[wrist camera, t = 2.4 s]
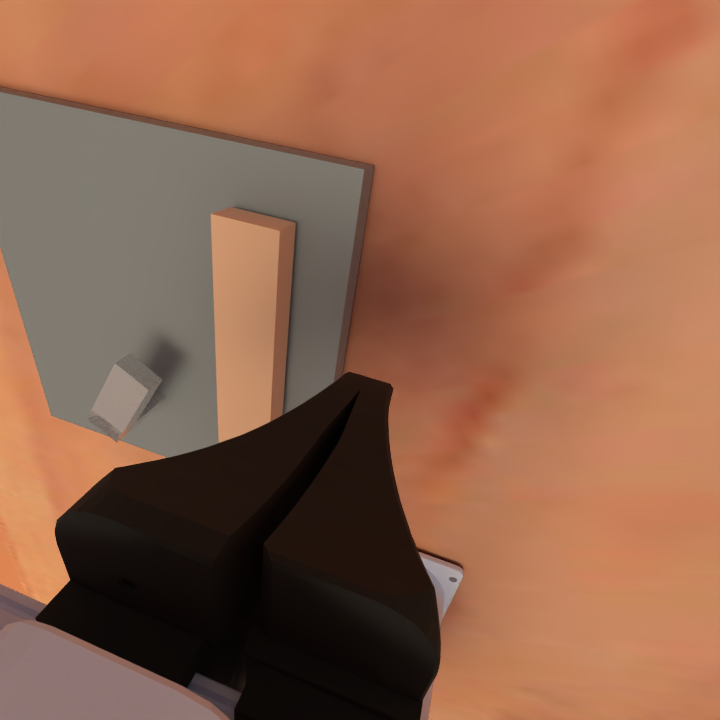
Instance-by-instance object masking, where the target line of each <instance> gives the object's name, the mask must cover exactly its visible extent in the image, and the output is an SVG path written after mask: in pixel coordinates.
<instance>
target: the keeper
mask: <svg viewBox="0 0 720 720" xmlns="http://www.w3.org/2000/svg"><path fill="white" fill-rule="evenodd" d="M162 380H163V379H161V378H160V377H159V376H158V375H156V374H155V373H154V372H153V371H151V370H150V369H149V368H148V367H147V366H145V365H144V364H143V363H142V362H140V361H139V360H138V359H137V358H135V357H134V356H133V355H132V354H131V353H130V354H128V355H127V356H125V357H124V358H122V359H120V360H119V361H117V362H116V363H115V364H114V366H113V368H112V370H111V372H110V374H109V376H108V378H107V380H106V382H105V384H104V386H103V388H102V390H101V392H100V394H99V396H98V398H97V400H96V402H95V404H94V405H93V407H92V409H91V411H90V413H89V415H88V417H87V419H88V420H89V421H90V422H92V423H93V424H94V425H95V426H97V427H98V428H99V429H100V430H102V431H103V432H104V433H106V434H107V435H108V436H109V437H111V438H112V439H113V440H115V441H116V442H118V441H119V440H120V439H121V438H122V437H124V436H125V435H126V434H127V433H128V432H130V431H131V430H132V429H133V428H134V427H136V426H137V425H138V424H139V423H140V422H141V421H143V420H144V419H145V418H146V417H147V416H149V415H150V414H151V413H152V412H153V411H155V410H156V409H157V408H158V407H159V406H160V405H161V404H162V402H163V401H164V399H165V398H166V397H165V396H164V395H162V394H161V393H160V392H159V391H157V390H156V389H157V388H158V386H159V385H160V383H161V381H162Z"/></svg>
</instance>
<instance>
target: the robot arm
mask: <svg viewBox="0 0 720 720" xmlns="http://www.w3.org/2000/svg"><path fill="white" fill-rule="evenodd" d="M392 392H393V387H392V386H391V384H389V383H385V382H382V381H379V380H375V379H372V378H369V377H365V376H362V375H359V374H355V373H352V372H348V373H346V374H344V375H343V376H341V377H340V378H339V379H337V380H336V381H335V382H333V383H332V384H331V385H329V386H328V387H326V388H325V389H323V390H322V391H321V392H319V393H318V394H316V395H315V396H313V397H312V398H310V399H308V400H307V401H305V402H304V403H302V404H301V405H299V406H297V407H296V408H294V409H292V410H290V411H289V412H287V413H285V414H283V415H282V416H280V417H278V418H276V419H274V420H272V421H270V422H268V423H267V424H264V425H262V426H260V427H258V428H256V429H254V430H252V431H249V432H247V433H245V434H242V435H240V436H237V437H234V438H231V439H229V440H226V441H223V442H220V443H218V444H215V445H212V446H209V447H206V448H202V449H199V450H195V451H192V452H188V453H185V454H181V455H177V456H173V457H169V458H165V459H160V460H155V461H150V462H145V463H140V464H135V465H130V466H124V467H118V468H115V469H114V470H112V471H111V472H110V473H109V474H107V475H106V476H105V477H104V478H102V479H101V480H100V481H99V482H98V483H97V484H96V485H94V486H93V487H92V488H91V489H90V490H89V491H88V492H87V493H86V494H85V495H84V496H83V497H81V498H80V499H79V500H78V501H77V502H76V503H75V504H74V505H73V506H72V507H71V508H70V509H69V510H67V511H66V512H65V513H64V514H63V515H62V516H61V517H60V518H59V519H58V520H57V523H56V527H55V536H56V541H57V545H58V548H59V551H60V553H61V556H62V559H63V561H64V564H65V567H66V569H67V572H68V575H69V577H70V581H69V582H68V583H67V584H66V585H65V586H64V588H63V589H62V590H61V591H60V592H59V593H58V594H57V595H56V596H55V597H54V598H53V599H52V600H51V601H50V603H49V604H48V605H46V604H44V603H41V602H39V601H37V600H35V599H33V598H30V597H28V596H26V595H24V594H21V593H19V592H17V591H15V590H13V589H10V588H8V587H6V586H4V585H2V584H0V720H428V719H429V711H430V704H431V696H432V688H433V681H434V679H435V677H436V675H437V672H438V669H439V665H440V651H441V639H440V628H441V621H442V619H443V617H444V615H445V613H446V611H447V609H448V607H449V605H450V603H451V601H452V599H453V597H454V594H455V592H456V590H457V588H458V586H459V584H460V582H461V580H462V578H463V569H462V568H461V567H459V566H457V565H454V564H451V563H449V562H446V561H443V560H440V559H438V558H435V557H432V556H429V555H427V554H424V553H421V552H418V550H417V547H416V545H415V542H414V540H413V537H412V535H411V532H410V529H409V526H408V523H407V520H406V517H405V514H404V511H403V508H402V505H401V501H400V497H399V494H398V490H397V486H396V481H395V477H394V472H393V466H392V460H391V453H390V444H389V428H388V412H389V405H390V401H391V396H392Z"/></svg>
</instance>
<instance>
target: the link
mask: <svg viewBox="0 0 720 720" xmlns="http://www.w3.org/2000/svg"><path fill="white" fill-rule="evenodd" d="M295 227H296V223H295V222H291V221H287V220H283V219H279V218H275V217H270V216H266V215H262V214H258V213H254V212H250V211H246V210H241V209H237V208H233V207H229V208H226V209H223V210H221V211H218V212H215V213H212V214H211V237H212V265H213V294H214V323H215V352H216V380H217V409H218V438H219V443H220V442H223V441H226V440H229V439H231V438H234V437H237V436H240V435H242V434H245V433H247V432H249V431H252V430H254V429H256V428H258V427H260V426H262V425H264V424H267V423H268V422H270V421H272V420H274V419H276V418H278V417H280V416H282V414H283V400H284V385H285V371H286V357H287V342H288V328H289V313H290V299H291V285H292V270H293V256H294V241H295Z"/></svg>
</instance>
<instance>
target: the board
mask: <svg viewBox="0 0 720 720" xmlns="http://www.w3.org/2000/svg"><path fill="white" fill-rule="evenodd" d="M374 166H375V165H370V164H365V163H361V162H356V161H351V160H346V159H342V158H337V157H332V156H327V155H323V154H318V153H313V152H308V151H304V150H299V149H294V148H289V147H285V146H280V145H275V144H270V143H266V142H261V141H256V140H251V139H247V138H242V137H237V136H232V135H228V134H223V133H218V132H213V131H209V130H204V129H199V128H194V127H190V126H185V125H180V124H175V123H171V122H166V121H161V120H156V119H152V118H147V117H142V116H137V115H132V114H128V113H123V112H118V111H113V110H109V109H104V108H99V107H94V106H90V105H85V104H80V103H75V102H71V101H66V100H61V99H56V98H52V97H47V96H42V95H37V94H33V93H28V92H23V91H18V90H14V89H9V88H4V87H0V248H1V251H2V254H3V257H4V261H5V264H6V267H7V271H8V274H9V277H10V281H11V284H12V287H13V290H14V294H15V297H16V300H17V304H18V307H19V310H20V314H21V317H22V320H23V323H24V327H25V330H26V333H27V337H28V340H29V343H30V347H31V350H32V353H33V356H34V360H35V363H36V366H37V370H38V373H39V376H40V379H41V383H42V386H43V389H44V393H45V396H46V399H47V403H48V406H49V409H50V412H51V416H54V417H57V418H59V419H62V420H65V421H68V422H70V423H73V424H76V425H79V426H82V427H84V428H87V429H90V430H93V431H95V432H98V433H101V434H104V435H106V436H108V435H107V434H106V433H104V432H103V431H102V430H100V429H99V428H98V427H97V426H95V425H94V424H93V423H92V422H90V421H89V420H88V419H87V417H88V415H89V413H90V411H91V409H92V407H93V405H94V404H95V402H96V400H97V398H98V396H99V394H100V392H101V390H102V388H103V386H104V384H105V382H106V380H107V378H108V376H109V374H110V372H111V370H112V368H113V366H114V364H115V363H116V362H117V361H119V360H120V359H122V358H124V357H125V356H127V355H128V354H130V353H131V354H132V355H133V356H134V357H135V358H137V359H138V360H139V361H140V362H142V363H143V364H144V365H145V366H147V367H148V368H149V369H150V370H151V371H153V372H154V373H155V374H156V375H158V376H159V377H160V378H161V379H163V380H162V381H161V383H160V385H159V386H158V388H157V389H156V390H157V391H159V392H160V393H161V394H162V395H164V396H165V397H166V398H165V399H164V401H163V402H162V404H161V405H160V406H159V407H158V408H157V409H156V410H155V411H153V412H152V413H151V414H150V415H149V416H147V417H146V418H145V419H144V420H143V421H141V422H140V423H139V424H138V425H137V426H136V427H134V428H133V429H132V430H131V431H130V432H128V433H127V434H126V435H125V436H124V437H122V438H121V439H120V441H123V442H126V443H129V444H131V445H134V446H137V447H140V448H143V449H145V450H148V451H151V452H154V453H156V454H159V455H162V456H165V457H167V458H169V457H173V456H177V455H181V454H185V453H188V452H192V451H195V450H199V449H202V448H206V447H209V446H212V445H215V444H218V443H219V438H218V409H217V380H216V352H215V323H214V294H213V265H212V237H211V214H212V213H215V212H218V211H221V210H223V209H226V208H229V207H233V208H237V209H241V210H246V211H250V212H254V213H258V214H262V215H266V216H270V217H275V218H279V219H283V220H287V221H291V222H295V223H296V227H295V241H294V256H293V270H292V285H291V299H290V313H289V328H288V342H287V357H286V371H285V385H284V400H283V414H285V413H287V412H289V411H290V410H292V409H294V408H296V407H297V406H299V405H301V404H302V403H304V402H305V401H307V400H308V399H310V398H312V397H313V396H315V395H316V394H318V393H319V392H321V391H322V390H323V389H325V388H326V387H328V386H329V385H331V384H332V383H333V382H335V381H336V380H337V379H339V378H340V377H341V376H342V372H343V365H344V359H345V352H346V346H347V340H348V333H349V327H350V320H351V314H352V307H353V301H354V295H355V288H356V282H357V275H358V269H359V262H360V256H361V250H362V243H363V237H364V230H365V224H366V217H367V211H368V205H369V198H370V192H371V185H372V179H373V172H374ZM283 414H282V415H283Z"/></svg>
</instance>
